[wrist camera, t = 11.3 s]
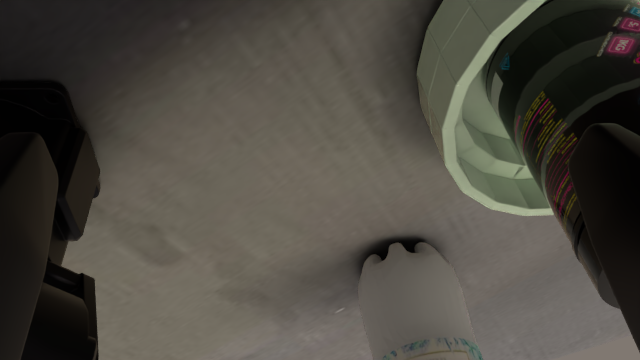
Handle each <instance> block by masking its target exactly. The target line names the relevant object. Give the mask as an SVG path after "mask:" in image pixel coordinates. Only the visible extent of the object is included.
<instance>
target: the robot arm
mask: <svg viewBox="0 0 640 360" xmlns="http://www.w3.org/2000/svg"><path fill="white" fill-rule="evenodd" d="M49 93H51V94H55V95H56V96H58V98H54V97H52V96H50V95H49ZM568 171H569V175H570V178H571V181H572V184H573V187H574V190H575V194H576V197H577V200H578V203H579V206H580V209H581V212H582V216H583V219H584V222H585V225H586V228H587V231H588V234H589V237H590V240H591V243H592V245H593V248H594V250H595V253H596V255H597V257H598V260H599V262H600V264H601V266H602V269H603V271H604V273H605V275H606V278H607V280H608V282H609V284H610V287H611V289H612V291H613V293H614V296H615V298H616V300H617V302H618V305H619V307H620V309H621V311H622V314H623V316H624V318H625V320H626V323H627V325H628V327H629V329H630V332H631V334H632V336H633V338H634V341H635V343H636V345H637V347H638V350H639V352H640V136H638V135H637V134H635V133H633V132H631V131H629V130H627V129H625V128H624V127H622V126H620V125H618V124H614V123H596V124H592V125H590V126H589V127H588V128H587V129H586V130H585V132H584V133H583V135H582V137H581V139H580V140H579V142H578V144H577V145H576V147H575V149H574V151H573V152H572V154H571V156H570V158H569V161H568ZM99 174H100V169H99V166H98V163H97V160H96V157H95V154H94V151H93V148H92V145H91V143H90V140H89V137H88V134H87V132H86V131H85V130H84V129H83V128H81V127H80V126H79V124H78V121H77V118H76V115H75V112H74V109H73V106H72V104H71V101H70V98H69V95H68V92H67V91H66V89H65V88H64V87H62V86H61V85H59V84H57V83H0V360H98V336H97V317H96V298H95V280H94V278H92V277H90V276H87V275H85V274H83V273H81V274H77V273H75V272H73V271H71V270H69V269H66V268H64V267H62V266H61V264H62V261H63V258H64V254H65V251H66V248H67V244H68V241H77V240H78V239H79V238H80V237H81V236H82V235H83V232H84V228H85V224H86V221H87V217H88V214H89V210H90V206H91V203H92V199H93V198H96V197H97V196H98V195H99V192H100V183H99V180H98V178H99Z"/></svg>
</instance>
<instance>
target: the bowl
mask: <svg viewBox="0 0 640 360" xmlns="http://www.w3.org/2000/svg"><path fill="white" fill-rule="evenodd" d="M545 1H546V0H443V2H442V3H441V5H440V7H439V9H438V10H437V12H436V14H435V15H434V17H433V19H432V21H431V22H430V24H429V26H428V29H427V31H426V35H425V39H424V43H423V47H422V51H421V55H420V59H419V64H418V68H417V81H418V89H419V97H420V105H421V109H422V111H423V114H424V116H425V119H426V121H427V123H428V126H429V128H430V131H431V133H432V135H433V138H434V140H435V143H436V145H437V148H438V150H439V152H440V155H441V157H442V160H443V162H444V164H445V167H446V168H447V170H448V171H449V173H450V174H451V176H452V177H453V179H454V181H455V182H456V184H457V185H458V187H459V188H460V190H461V191H462V192H463V193H464V194H466V195H468V196H469V197H471V198H472V199H474V200H476V201H477V202H479V203H481V204H482V205H484V206H486V207H487V208H489V209H492V210H497V211H502V212H507V213H511V214H516V215H521V216H540V215H554V213H553V211H552V210H551V208H550V206H549V205H548V203H547V201H546V199H545V198H544V196H543V194H542V192H541V191H540V189H539V187H538V186H537V184H536V182H535V180H534V179H533V177H532V175H531V173H530V172H529V170H528V168H527V167H526V165H525V163H524V161H523V160H522V158H521V156H520V154H519V153H518V151H517V149H516V148H515V146H514V144H513V142H512V141H511V139H510V137H509V135H508V134H507V132H506V130H505V129H504V127H503V125H502V123H501V122H500V120H499V118H498V116H497V115H496V113H495V111H494V110H493V108H492V106H491V104H490V102H489V100H488V98H487V94H486V89H485V76H486V69H487V64H488V61H489V58H490V55H491V54H492V52H493V51H494V50H495V48H496V47H497V45H498V44H499V43H500V41H501V40H502V39H503V38H504V37H505V36H506V35H508V34H509V33H510V32H511V31H512V30H513V29H514V28H515V27H517V26H518V25H519V24H520V23H521V22H522V21H523V20H524V19H526V18H527V17H528V16H529V15H530V14H531V13H532V12H534V11H535V10H536V9H537V8H538V7H539V6H540V5H541V4H543V3H544V2H545ZM639 1H640V0H639Z"/></svg>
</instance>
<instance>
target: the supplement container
mask: <svg viewBox="0 0 640 360" xmlns="http://www.w3.org/2000/svg"><path fill="white" fill-rule="evenodd" d="M485 89H486V94H487V98H488V100H489V102H490V104H491V106H492V108H493V110H494V111H495V113H496V115H497V116H498V118H499V120H500V122H501V123H502V125H503V127H504V129H505V130H506V132H507V134H508V135H509V137H510V139H511V141H512V142H513V144H514V146H515V148H516V149H517V151H518V153H519V154H520V156H521V158H522V160H523V161H524V163H525V165H526V167H527V168H528V170H529V172H530V173H531V175H532V177H533V179H534V180H535V182H536V184H537V186H538V187H539V189H540V191H541V192H542V194H543V196H544V198H545V199H546V201H547V203H548V205H549V206H550V208H551V210H552V211H553V213H554V215H555V217H556V218H557V220H558V222H559V224H560V225H561V227H562V229H563V230H564V232H565V234H566V236H567V237H568V239H569V241H570V243H571V244H572V249H573V251H574V253H575V255H576V257H577V259H578V260H579V261H580V263H581V264H582V265H583V267H584V269H585V271H586V272H587V274H588V276H589V277H590V279H591V281H592V283H593V284H594V286H595V288H596V290H597V291H598V293H599V295H600V296H601V298H602V299H603V300H604V301H605V302H606V303H608V304H609V305H611V306H613V307H616V308H619V309H620V307H619V305H618V302H617V300H616V298H615V296H614V293H613V291H612V289H611V287H610V284H609V282H608V280H607V278H606V275H605V273H604V271H603V269H602V266H601V264H600V262H599V260H598V257H597V255H596V253H595V250H594V248H593V245H592V243H591V240H590V237H589V234H588V231H587V228H586V225H585V222H584V219H583V216H582V212H581V209H580V206H579V203H578V200H577V197H576V194H575V190H574V187H573V184H572V181H571V178H570V175H569V171H568V161H569V158H570V156H571V154H572V152H573V151H574V149H575V147H576V145H577V144H578V142H579V140H580V139H581V137H582V135H583V133H584V132H585V130H586V129H587V128H588V127H589V126H590V125H592V124H596V123H614V124H618V125H620V126H622V127H624V128H625V129H627V130H629V131H631V132H633V133H635V134H637V135H638V136H640V1H639V0H546V1H545V2H544V3H543V4H541V5H540V6H539V7H538V8H537V9H536V10H535V11H534V12H532V13H531V14H530V15H529V16H528V17H527V18H526V19H524V20H523V21H522V22H521V23H520V24H519V25H518V26H517V27H515V28H514V29H513V30H512V31H511V32H510V33H509V34H508V35H506V36H505V37H504V38H503V39H502V40H501V41H500V43H499V44H498V45H497V47H496V48H495V50H494V51H493V52H492V54H491V55H490V58H489V61H488V64H487V69H486V76H485Z"/></svg>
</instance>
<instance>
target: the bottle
mask: <svg viewBox="0 0 640 360" xmlns="http://www.w3.org/2000/svg"><path fill="white" fill-rule="evenodd" d="M414 249H415V253H410V252H408V251H406V250H405V248H404V247H403V246H402V244H401V243H394V244H391V245H390V246H389V251H388V255H387V257H386V259H385V260H383V261H382V260H381V258H380V257H379V256H378V255H376V254H373V255H371V256H369V257H368V258H367V259H366V261H365V262H364V265H363V269H362V274H361V276H360V279H359V282H358V299H359V306H360V312H361V316H362V319H363V323H364V327H365V331H366V335H367V338H368V342H369V346H370V349H371V353H372V357H373V360H483V358H482V355H481V353H480V350H479V347H478V345H477V342H476V339H475V336H474V333H473V329H472V326H471V322H470V318H469V314H468V310H467V306H466V303H465V299H464V295H463V292H462V289H461V286H460V283H459V280H458V278H457V275H456V273H455V271H454V268H453V267H452V265H451V263H450V262H449V261H448V260H447V259H446V258H445V257H444V256H443V255H441V254H439V253H438V252H437V250H436V249H434V248H433V247H432V246H431V245H429V244H427V243H423V242H420V243H417V244H416V245H415V248H414Z"/></svg>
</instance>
